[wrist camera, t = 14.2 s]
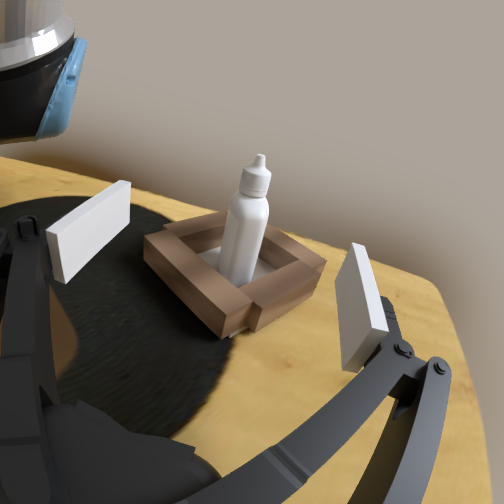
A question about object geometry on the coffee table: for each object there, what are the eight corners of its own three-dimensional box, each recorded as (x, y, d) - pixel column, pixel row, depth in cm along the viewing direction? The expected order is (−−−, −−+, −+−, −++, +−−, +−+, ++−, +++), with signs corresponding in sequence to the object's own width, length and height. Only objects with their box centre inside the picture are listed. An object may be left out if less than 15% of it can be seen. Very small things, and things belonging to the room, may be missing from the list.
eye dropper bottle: (201, 277, 28) (222, 152, 22) (226, 251, 33) (249, 144, 26) (243, 295, 27) (276, 168, 21) (263, 266, 32) (294, 158, 25)
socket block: (139, 258, 29) (139, 230, 27) (236, 229, 39) (241, 207, 37) (228, 351, 22) (236, 323, 20) (324, 289, 31) (334, 265, 30)
